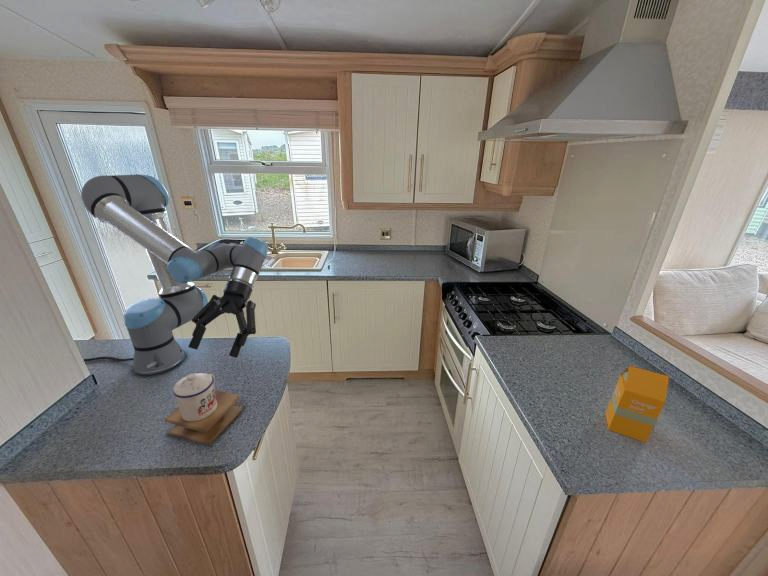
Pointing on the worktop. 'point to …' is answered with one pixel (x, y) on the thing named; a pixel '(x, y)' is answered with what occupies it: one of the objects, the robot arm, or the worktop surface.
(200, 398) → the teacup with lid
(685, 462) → the worktop surface
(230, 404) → the cup stand
